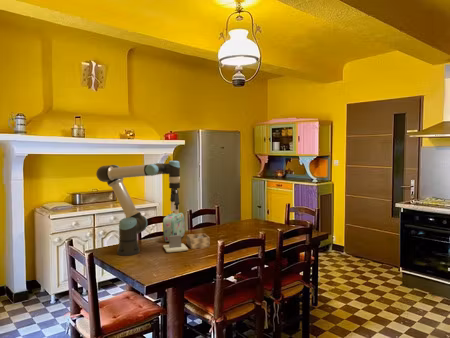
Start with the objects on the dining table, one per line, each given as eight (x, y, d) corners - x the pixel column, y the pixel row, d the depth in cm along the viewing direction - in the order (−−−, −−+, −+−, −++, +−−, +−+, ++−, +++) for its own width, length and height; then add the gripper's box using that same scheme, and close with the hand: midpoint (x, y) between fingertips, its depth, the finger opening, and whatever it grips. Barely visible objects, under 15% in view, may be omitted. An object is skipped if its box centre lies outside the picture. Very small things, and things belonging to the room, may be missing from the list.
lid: (166, 253, 240) (166, 239, 239) (163, 247, 254) (162, 234, 253) (188, 251, 245) (187, 237, 244) (183, 245, 259) (183, 232, 258)
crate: (191, 248, 251) (191, 239, 251) (186, 243, 264) (186, 234, 264) (209, 247, 256) (209, 237, 255) (204, 242, 269) (204, 233, 269)
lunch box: (175, 244, 263) (174, 216, 262) (162, 243, 265) (161, 215, 264) (186, 235, 289) (185, 210, 288) (174, 235, 292) (174, 209, 290)
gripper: (183, 184, 236) (183, 215, 237) (176, 180, 260) (176, 209, 261) (172, 184, 234) (172, 215, 235) (166, 181, 257) (166, 209, 258)
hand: (174, 212), depth 248 cm, fingers open, 13 cm apart
